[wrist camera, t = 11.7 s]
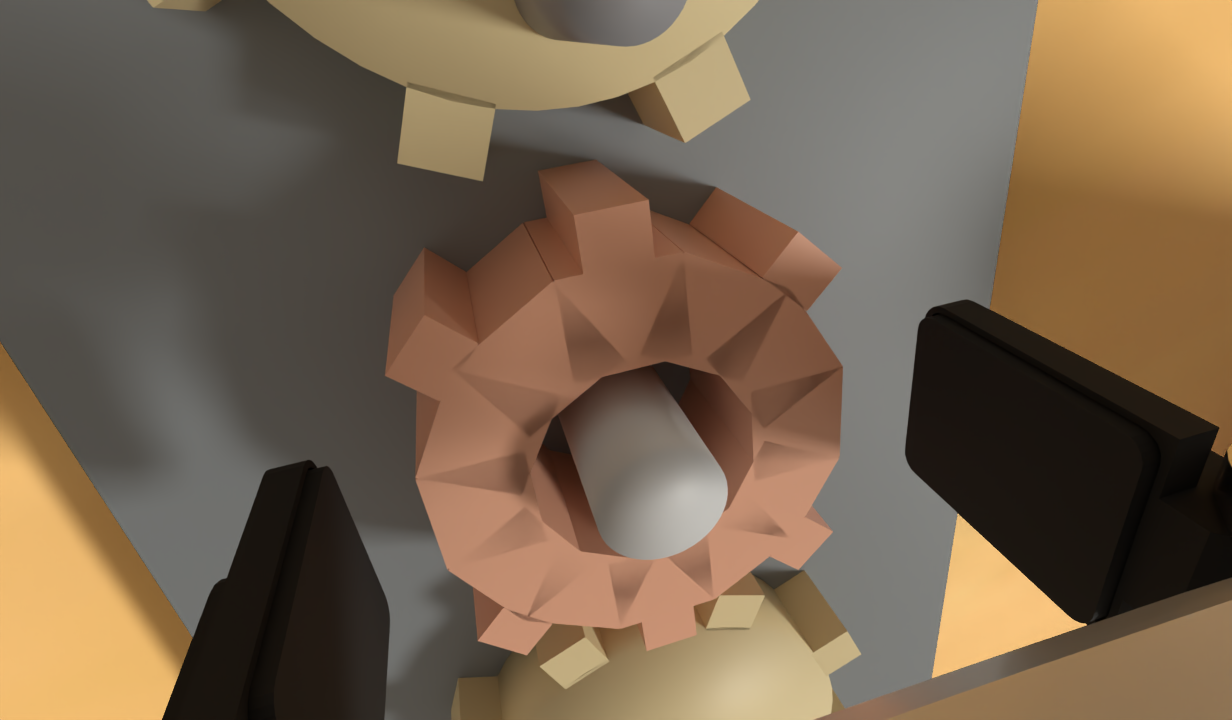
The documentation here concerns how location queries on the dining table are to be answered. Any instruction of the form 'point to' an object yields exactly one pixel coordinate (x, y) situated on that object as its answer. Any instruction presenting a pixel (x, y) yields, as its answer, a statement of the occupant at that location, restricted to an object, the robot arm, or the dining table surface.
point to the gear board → (463, 234)
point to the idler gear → (600, 346)
